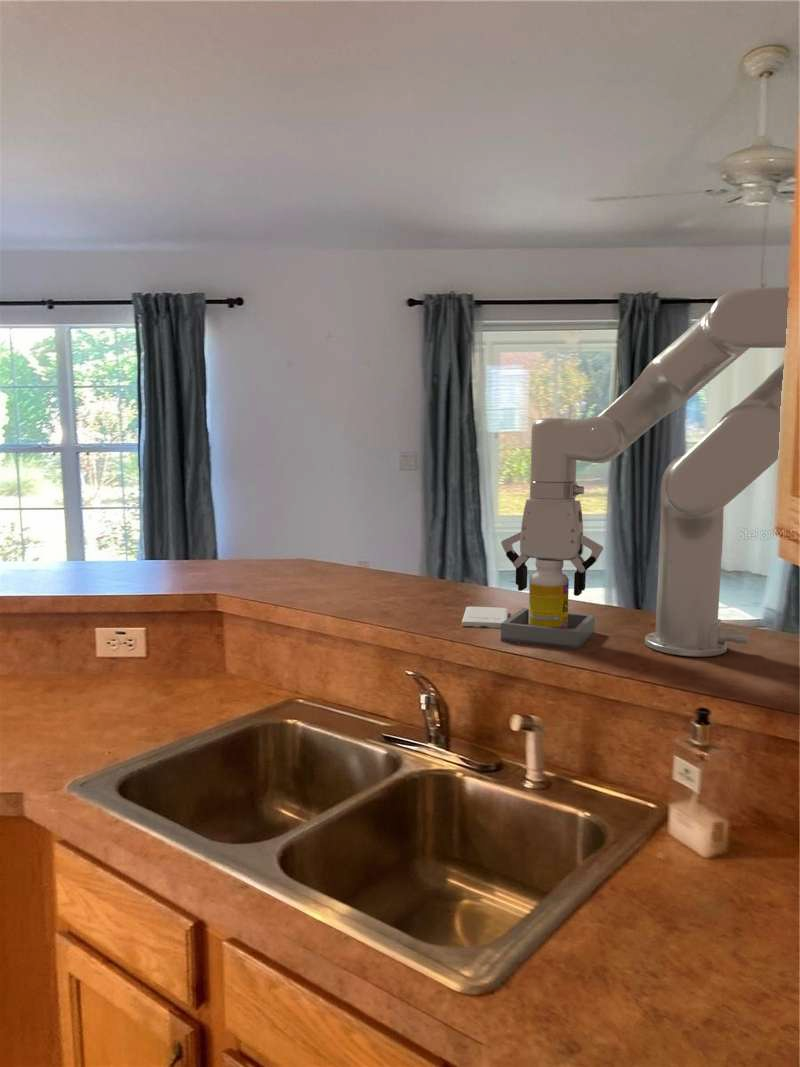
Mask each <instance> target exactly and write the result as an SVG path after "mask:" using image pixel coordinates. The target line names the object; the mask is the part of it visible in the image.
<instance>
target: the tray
mask: <svg viewBox="0 0 800 1067" xmlns="http://www.w3.org/2000/svg"><path fill="white" fill-rule="evenodd" d="M595 617H596V616H595V614H594V615H593V614H584V613H573V612H568V627H567V629H561V628H552V627H543V626H534V625H529V608H526V607H524V608H523V607H522V608H521V609H519V610H518V611H516V613H514V614H512V615H511V616H510V617H508V619H507V620H505V621H504V622H502V623H501V628H500V641H501V642H506V641H508V642H507V643H515V642H520V643H519V644H523V643H527V645H532V644H533V645H534V646H540V645H542V647H548V646H549V647H550V648H558V649H564V650H565V649H566V650H567V649H568V650H574V651H579V649H580V648H581V647H582V646H583V645H584V644H585V643H586V642H587V640H589V639H590V637H591V636H592V635H593V634H595ZM585 641H586V642H585ZM584 642H585V643H584Z"/></svg>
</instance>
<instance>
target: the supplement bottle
mask: <svg viewBox="0 0 800 1067" xmlns="http://www.w3.org/2000/svg"><path fill="white" fill-rule="evenodd" d="M535 567H536V572H533V573H532V574H531V575H530V577H529V580H528V581H529V582H528V583H529V585H528V586H529V589H528V590H529V591H528V592H529V593H528V594H529V595H528V596H529V597H528V609H529V625H534V626H543V627H552V628H561V629H567V627H568V613H569V586H570V584H569V583H570V582H569V577H568V576H567V575H566V574H565V573H564V572H563V567H564V560H553V559H539V558H535Z"/></svg>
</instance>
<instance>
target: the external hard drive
mask: <svg viewBox="0 0 800 1067" xmlns="http://www.w3.org/2000/svg"><path fill="white" fill-rule="evenodd" d="M508 616H509V608H508V607H493V606H491V607H490V606H466V607H465V611H464V614H463V618H462V620H461V627H462V626H474V627H473V628H488V627H489V628H488V629H501V623H502V622H504V621H505V620H507V619H508V618H509V617H508Z"/></svg>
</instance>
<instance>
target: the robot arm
mask: <svg viewBox="0 0 800 1067" xmlns="http://www.w3.org/2000/svg"><path fill="white" fill-rule="evenodd" d="M789 287H790V286H779V287H776V286H775V287H761V288H760V287H757V288H756V287H755V288H754V287H753V288H742V289H741V288H740V289H735V290H731V291H727V292H726V293H724V294H722V295H721V296H720V297H719V298H717V299H716V300H715V302H714V303H713V304H712V305H711V307H710V309H709V310H708V311H707V312H705V314H703V315H702V316H701V317H700V318H699V319H697V321H695V323H693V324H692V325H691V326H690V327H689V328H688V329H687V330H685V331H684V332H683V333H682V334H681V335H680V336H679V337H677V339H675V340H674V341H673V342H672V343H671V344H669V345H668V346H667V347H666V348H664V350H663V351H661V352H660V353H659V354H658V355H656V357H655V356H654V358H653V359H652V360H651V361H650V362H649V364H647V365H646V367H645V368H644V369H643V370H642V372H641V373H640V375H639V376H638V377H637V379H636V380H635V381H634V382H633V383H632V384H631V386H629V388H628V389H626V391H624V392H623V393H622V394H621V395H620V396H619V397H618V398H617V399H616V400H615V401H614V402H612V403H611V404H610V405H609V406H608V407H607V408H606V409H604V410H603V411H602V412H601V413H600V414H598V415H597V416H595V417H594V416H593V417H587V418H578V419H571V418H563V417H561V418H560V417H557V418H556V417H553V418H551V417H549V418H547V417H546V418H539V419H535V421H533V423H532V425H531V441H530V442H531V443H530V444H531V445H530V446H531V447H530V475H529V476H530V478H529V479H530V482H529V485H530V486H529V498H527V499H526V500H525V504H524V508H523V514H522V520H521V528H520V532H518V533H516V534H514V535H511V536H510V537H507V538H505V539H502V541H501V542H500V543H501V544H500V545H501V546H502V548H503V551H504V552H505V554H506V555H505V556H506V557H507V559H508V560H509V561H510V562H511V563H512V565H513V566H514V568H515V585H516V586H517V591H520V592H522V591H523V590H526V589H527V587H528V566H527V565H526V563H527V562H528V560H529V559H530V558H531V559H536V558H539V559H553V560H563V561H569V562H571V564H572V565H573V566H574V568H575V569H576V571H575V572H574V576H573V579H574V581H573V595H574V596H575V597H578V596H580V595H581V594H582V593H583V591H585V590H586V576H587V574H586V573H587V571H588V569H589V568H591V567H592V566H593V565H594V564H595V563H596V562H597V561H598V559H599V558H600V555H601V554H602V552H603V550H604V546H603V545H601V544H600V543H598V542H596V541H595V540H592V539H591V538H589V537H588V536H586V535H584V524H583V523H584V522H583V521H584V520H583V512H582V505H581V504H582V503H581V501H580V500H576V498H577V496H579V495H584V493H585V486H583V485H581V486H580V485H579V484H577V461H580V462H585V463H587V462H588V463H593V464H604V463H609V462H611V461H613V460H614V459H616V458H617V457H618V456H619V455H621V454H622V453H623V452H624V451H625V450H627V449H628V448H629V447H630V446H631V445H633V444H634V443H635V442H636V441H637V440H638V439H640V438H641V436H643V435H644V434H645V433H647V432H648V431H649V430H650V429H651V428H653V427H654V425H656V424H657V423H659V422H660V421H661V420H662V419H664V418H665V417H666V416H667V415H670V413H672V412H674V411H676V410H677V409H679V408H680V407H681V406H683V405H684V404H685V403H687V401H689V400H690V399H691V398H693V396H696V394H697V393H698V392H700V391H701V390H702V389H703V388H704V387H705V386H707V385H708V384H709V383H710V382H711V381H712V380H713V379H715V378H716V377H717V376H719V375H720V374H721V373H722V372H724V370H726V369H727V368H728V367H729V366H731V364H733V363H734V362H735V361H736V360H737V359H739V358H740V357H741V356H742V355H743V354H745V353H746V352H747V351H749V350H750V349H751V348H752V349H755V348H756V349H771V348H772V349H773V348H774V349H776V348H777V349H778V348H779V349H780V348H783V349H784V348H785V345H786V328H787V308H788V291H789ZM783 369H784V359H783V360H782V362H781V364H780V365H779V366H778V367H777V368H776V369H774V371H773V372H771V374H769V375H768V377H766V379H764V381H763V382H762V383H760V385H759V386H758V387H756V388H755V389H754V390H753V391H752V392H751V393H750V394H749V395H748V396H746V397H745V398H744V399H743V400H741V401H740V403H738V404H737V405H735V406H734V407H732V408H731V409H729V410H728V411H727V412H726V413H725V414H724V415H723V416H722V417H721V419H720V420H719V422H718V423H717V424H716V425H715V426H714V427H713V428H712V429H710V430H709V432H707V433H706V434H705V435H704V436H703V437H702V438H701V439H700V440H699V441H698V442H697V443H695V445H693V446H692V447H691V448H690V449H689V450H688V451H687V452H685V454H682V455H680V456H677V457H676V458H674V459H673V460H672V461H671V462H670V463H669V464H668V466H667V467H666V468H665V470H664V472H663V475H662V477H661V478H662V479H661V483H660V484H661V486H660V527H659V530H660V531H659V545H658V547H659V548H658V550H659V551H658V566H657V567H658V569H657V570H658V572H657V592H656V593H657V594H656V609H655V610H656V611H655V631H654V632H650V633H648V634H646V635H645V638H644V639H645V640H644V644H645V645H646V646H647V647H648V648H650V649H652V650H654V651H656V652H657V651H658V652H660V653H666V654H668V655H676V656H683V657H697V658H698V657H703V658H704V657H714V656H719V655H722V654H724V653H726V652H727V650H728V643H727V642H732V643H735V644H741V645H742V644H744V645H747V644H748V637H749V636H748V635H749V632H748V631H742V630H740V629H738V628H726V627H725V626H724V625H723V626H722V625H721V624H722V623H721V622H722V620H721V619H719V608H720V603H719V602H720V593H721V592H720V588H721V573H722V556H723V543H724V542H723V538H724V507H725V506H727V505H728V504H730V502H732V501H733V500H734V499H735V498H736V497H737V496H739V494H741V493H742V492H743V491H744V490H745V489H746V488H747V487H749V486H750V485H751V484H752V483H753V482H754V481H756V480H757V479H758V478H759V477H761V475H763V473H765V471H767V470H768V469H769V468H770V467H771V466H773V464H775V463H776V462H777V460H778V459H779V458H778V450H779V432H780V406H781V391H782V380H783ZM518 542H519V551H520V555H519V554H518V553H517V552H516V551H515V550H514V548H513V544H515V543H518ZM584 547H586V548H588V549H590V550H591V553H590V555H589V557H588V558H587V559H585V558H583V557H582V555H583V552H584Z"/></svg>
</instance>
